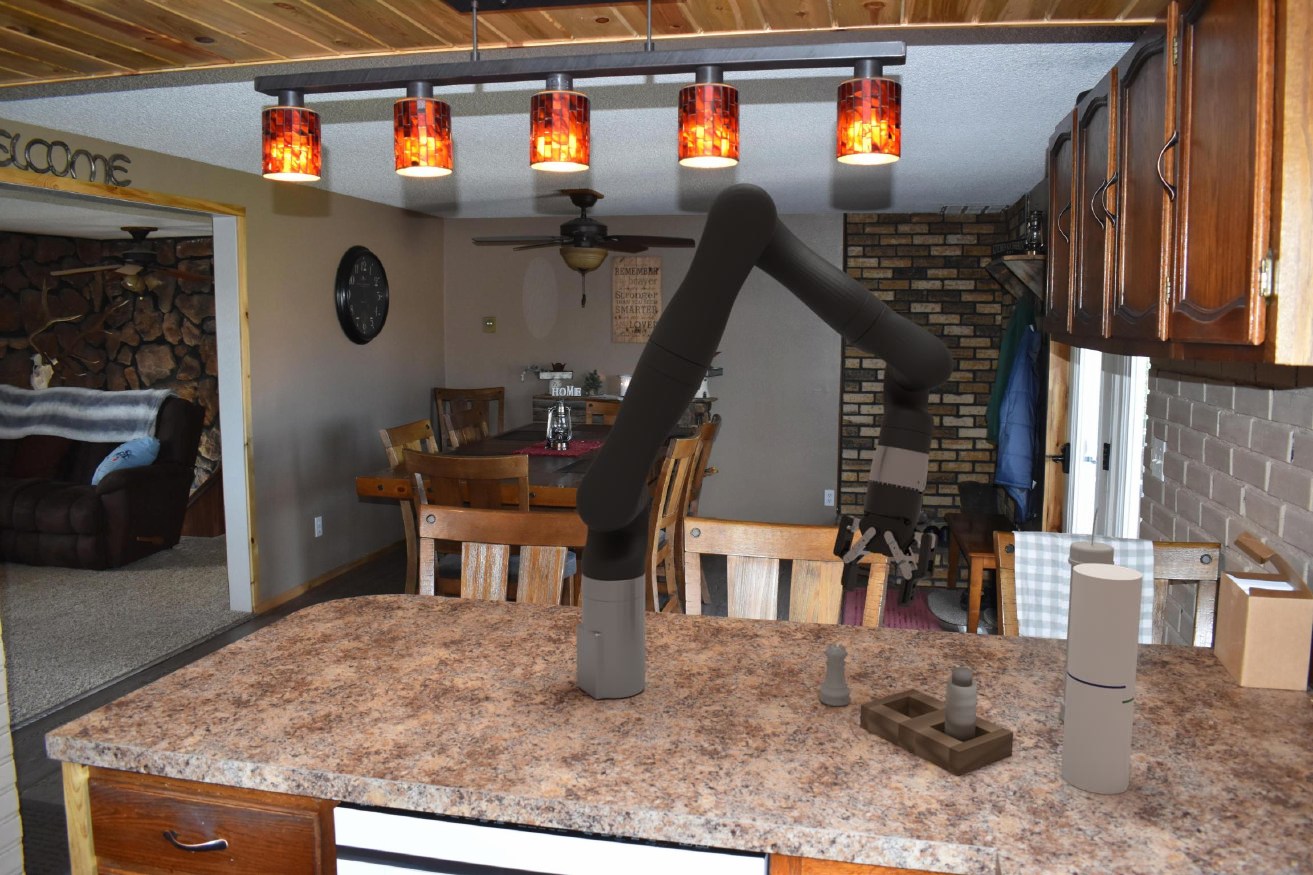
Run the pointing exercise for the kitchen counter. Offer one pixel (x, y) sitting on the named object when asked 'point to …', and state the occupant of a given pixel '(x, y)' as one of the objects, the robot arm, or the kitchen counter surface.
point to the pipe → (1078, 555)
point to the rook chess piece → (835, 678)
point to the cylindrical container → (1101, 677)
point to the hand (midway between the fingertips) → (874, 598)
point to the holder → (940, 726)
